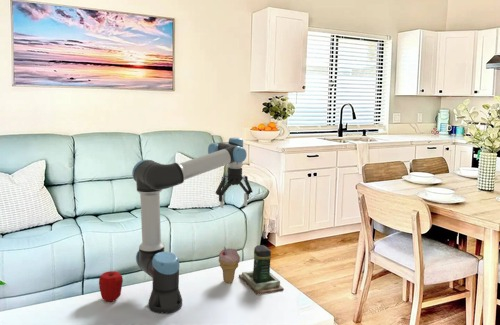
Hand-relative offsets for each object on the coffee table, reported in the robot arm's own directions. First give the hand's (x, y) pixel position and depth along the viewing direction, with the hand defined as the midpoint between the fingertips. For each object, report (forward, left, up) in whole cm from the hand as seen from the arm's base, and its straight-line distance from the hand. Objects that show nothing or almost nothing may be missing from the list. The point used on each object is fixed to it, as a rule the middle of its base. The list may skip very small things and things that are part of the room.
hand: (233, 206), depth 227 cm
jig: (+9, -18, -37) cm, 42 cm away
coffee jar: (+9, -18, -36) cm, 41 cm away
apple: (-64, -10, -37) cm, 75 cm away
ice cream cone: (-6, -11, -37) cm, 39 cm away
